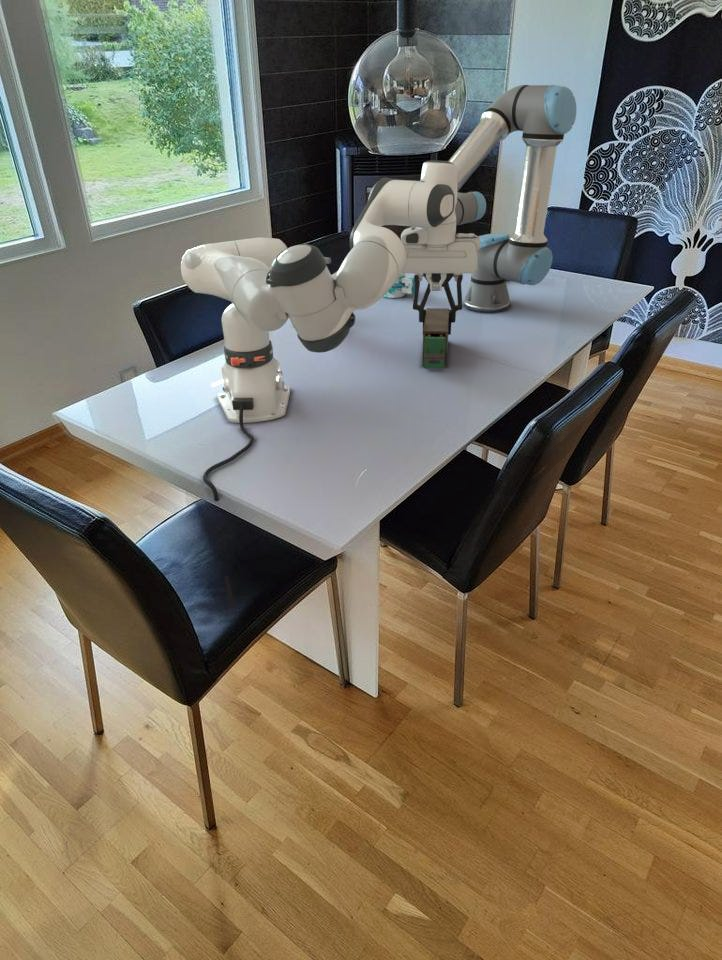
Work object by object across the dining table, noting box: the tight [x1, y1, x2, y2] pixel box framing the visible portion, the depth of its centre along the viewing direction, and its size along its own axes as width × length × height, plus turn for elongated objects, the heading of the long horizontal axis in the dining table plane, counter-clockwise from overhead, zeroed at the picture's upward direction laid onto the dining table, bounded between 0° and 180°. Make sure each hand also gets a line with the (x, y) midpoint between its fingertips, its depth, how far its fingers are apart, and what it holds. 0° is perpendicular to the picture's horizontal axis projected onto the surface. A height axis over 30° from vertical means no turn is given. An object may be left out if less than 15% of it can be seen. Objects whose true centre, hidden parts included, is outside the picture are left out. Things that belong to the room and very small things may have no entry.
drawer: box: [423, 334, 445, 369], centre depth 186 cm, size 23×6×9 cm, turn 173°
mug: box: [383, 273, 415, 299], centre depth 238 cm, size 8×12×8 cm
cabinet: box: [422, 307, 450, 368], centre depth 191 cm, size 19×7×10 cm, turn 173°
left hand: (435, 290), depth 169 cm, fingers closed
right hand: (436, 332), depth 195 cm, fingers closed on cabinet, 7 cm apart
